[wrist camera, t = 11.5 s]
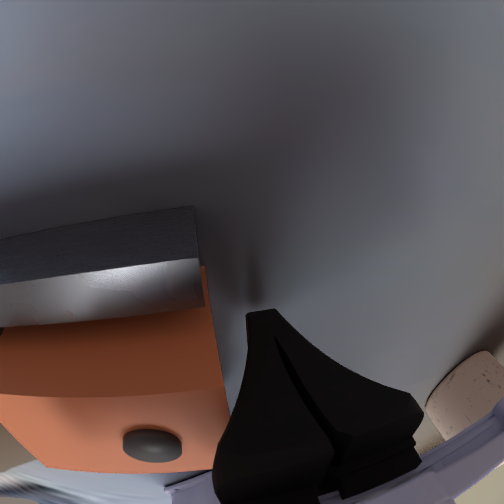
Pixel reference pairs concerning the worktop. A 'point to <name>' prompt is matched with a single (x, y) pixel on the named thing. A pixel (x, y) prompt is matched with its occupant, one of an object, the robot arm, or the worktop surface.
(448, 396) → the teacup with lid
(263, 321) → the robot arm
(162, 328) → the block
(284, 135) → the worktop surface
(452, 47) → the worktop surface
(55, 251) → the coupler channel
